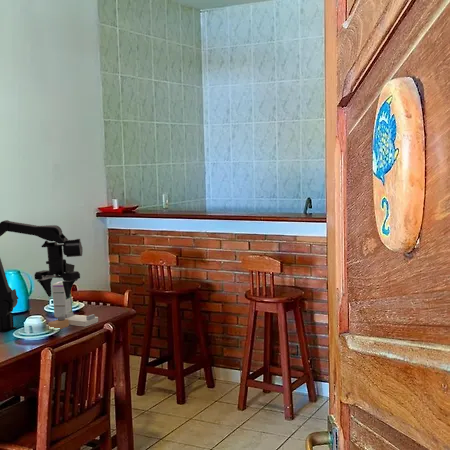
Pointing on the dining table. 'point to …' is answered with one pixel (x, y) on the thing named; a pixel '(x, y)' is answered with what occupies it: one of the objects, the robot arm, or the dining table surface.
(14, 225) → the robot arm
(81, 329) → the dining table surface
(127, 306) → the dining table surface
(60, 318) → the housing
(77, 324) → the stand
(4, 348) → the dining table surface
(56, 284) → the syrup box
